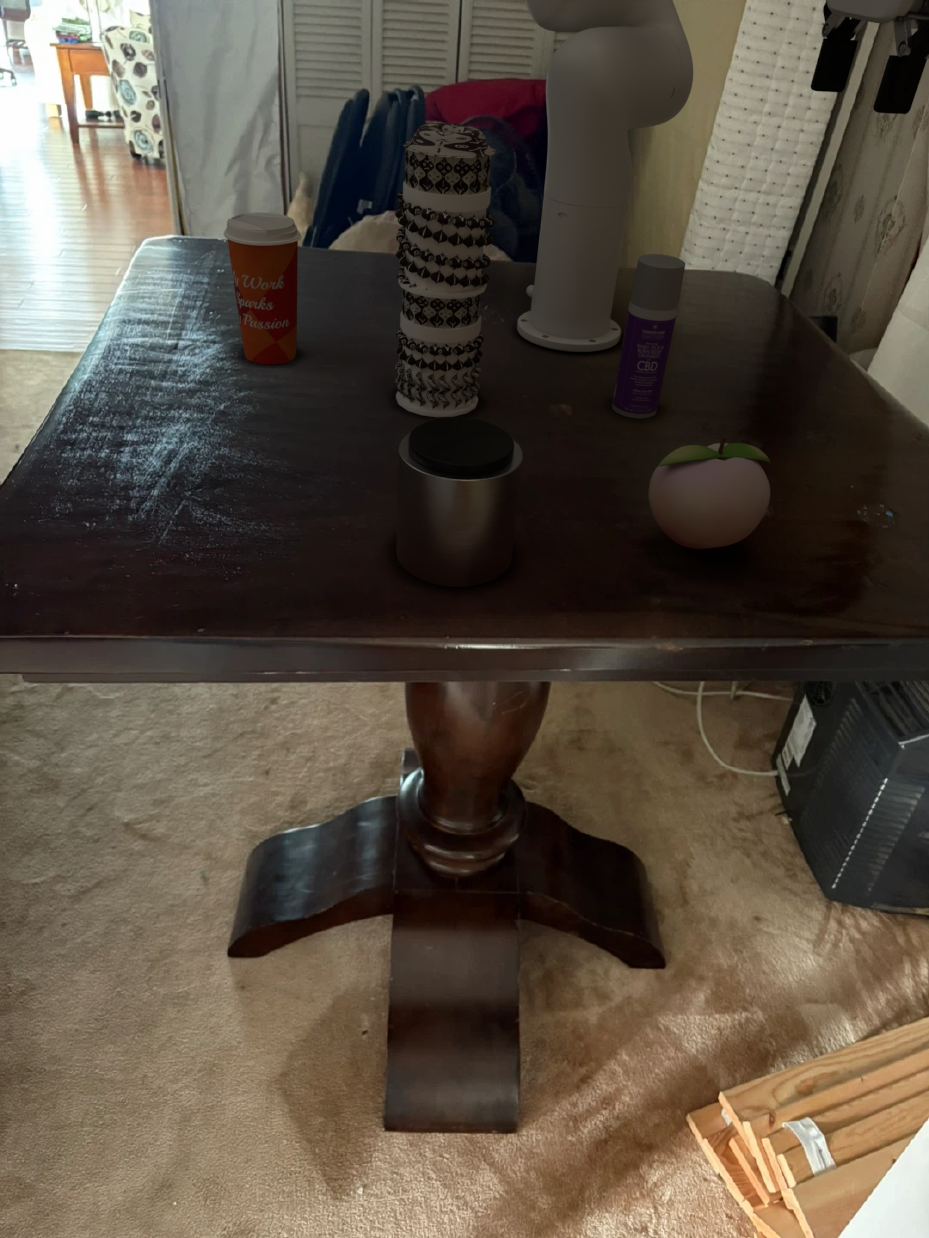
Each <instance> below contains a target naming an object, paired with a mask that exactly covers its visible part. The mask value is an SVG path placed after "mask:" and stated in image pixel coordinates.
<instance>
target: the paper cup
mask: <svg viewBox="0 0 929 1238" xmlns="http://www.w3.org/2000/svg"><path fill="white" fill-rule="evenodd" d="M223 237H224V238H225V239H227V245H228V252H229V253H228V254H229V260H230V265H231V266H230V267H231V274H232V281H233V287H234V295H235V301H236V309H237V314H238V322H239V328H240V336H241V341H242V348H243V354H244V356H245V358H246V359H247V360H248V361H250V362H252V363H255V364H259V365H267V366H269V365H271V366H272V365H281V364H286V363H290V362H291V361H293V360H294V359H295V358H296V356H297V339H298V337H297V336H298V261H299V260H298V259H299V258H298V256H299V255H298V254H299V253H298V252H299V247H298V246H299V241H300V240H301V239H302V234H301V232H300V230H299V229H298V226H297V225H296V223H295V219H293V217H291V216H288V215H286V214H280V213H273V212H261V211H260V212H259V211H258V212H257V211H256V212H255V211H254V212H244V213H240V214H238V215H235V216H233V217H232V216H231V218H228V219H227V220H226V228H225V229H224V231H223Z"/></svg>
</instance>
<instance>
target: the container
mask: <svg viewBox="0 0 929 1238" xmlns="http://www.w3.org/2000/svg"><path fill="white" fill-rule="evenodd" d="M685 269H686V262H685V261H684V260H682V259H681V258H678V257H676V256H671V255H668V254H659V253H648V254H647V253H646V254H642V255H640V256H639V257H638V258H637V264H636V269H635V273H634V278H633V283H632V289H631V293H630V299H629V304H628V309H627V314H626V320H625V326H624V330H623V331H624V332H623V336H622V337H623V338H622V344H621V350H620V355H619V360H618V361H619V362H618V367H617V373H616V379H615V384H614V391H613V397H612V402H611V408H612V410H613V411H614V412H615V413H616V414H618V415H620V416H623V417H627V418H631V419H649V418H652V417H654V416H656V415H657V411H658V406H659V402H660V397H661V392H662V387H663V382H664V378H665V373H666V367H667V362H668V359H669V353H670V349H671V344H672V338H673V335H674V334H673V333H674V330H675V324H676V319H677V313H678V307H679V303H680V297H681V291H682V285H683V280H684V274H685Z"/></svg>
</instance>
